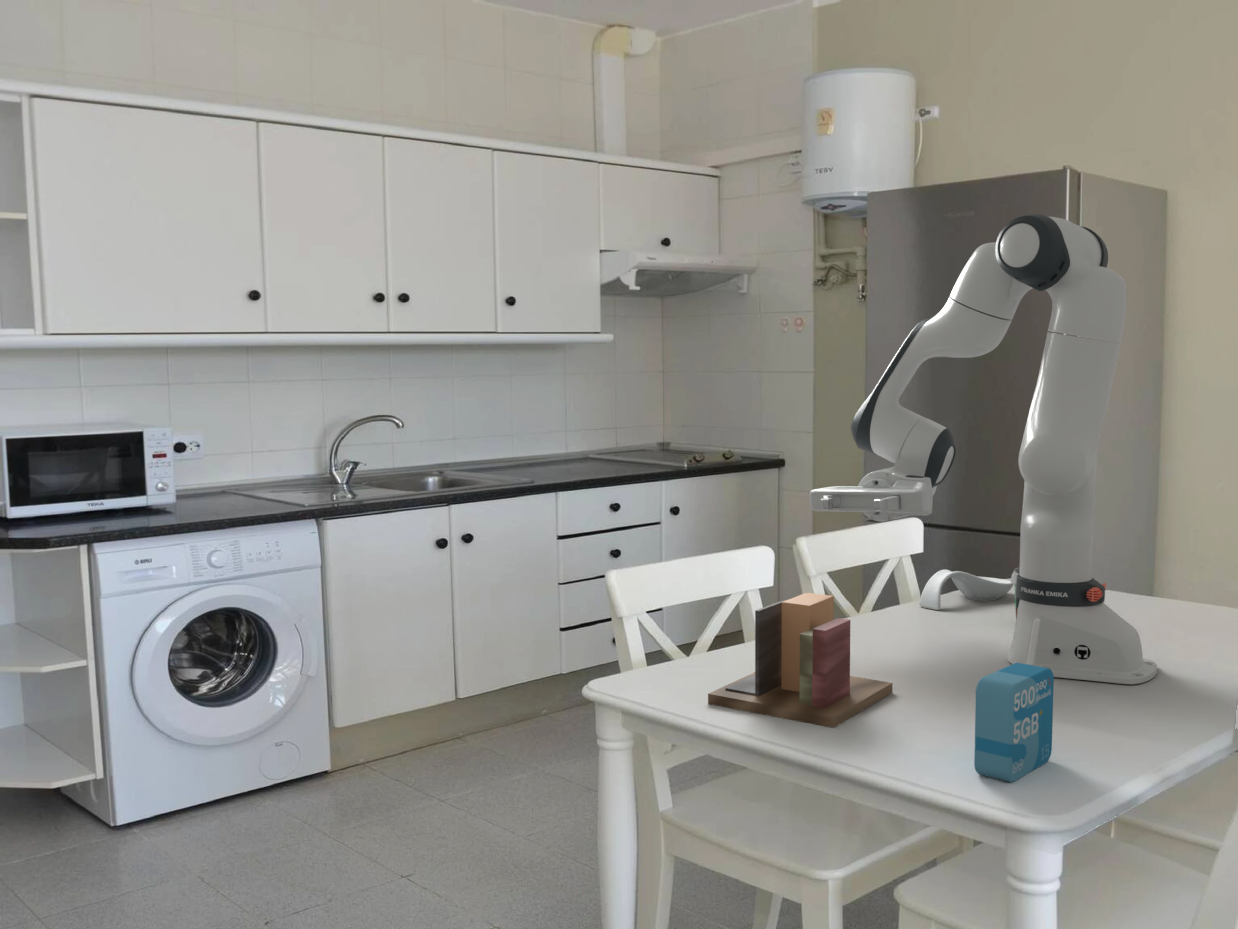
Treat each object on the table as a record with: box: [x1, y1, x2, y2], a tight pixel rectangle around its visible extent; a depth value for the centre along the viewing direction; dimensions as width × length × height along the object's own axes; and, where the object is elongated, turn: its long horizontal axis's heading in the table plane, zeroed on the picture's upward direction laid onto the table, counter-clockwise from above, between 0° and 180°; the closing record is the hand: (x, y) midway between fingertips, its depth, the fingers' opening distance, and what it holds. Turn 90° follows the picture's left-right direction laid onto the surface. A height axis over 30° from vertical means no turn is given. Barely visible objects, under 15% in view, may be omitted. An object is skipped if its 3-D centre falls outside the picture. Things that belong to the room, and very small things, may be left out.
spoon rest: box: [919, 569, 1014, 611], centre depth 243 cm, size 24×12×7 cm, turn 129°
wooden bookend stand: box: [707, 600, 893, 729], centre depth 177 cm, size 20×20×14 cm
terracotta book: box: [782, 592, 835, 692], centre depth 179 cm, size 4×8×13 cm, turn 145°
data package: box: [973, 663, 1055, 783], centre depth 147 cm, size 12×4×12 cm, turn 136°
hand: (850, 505), depth 197 cm, fingers open, 8 cm apart
